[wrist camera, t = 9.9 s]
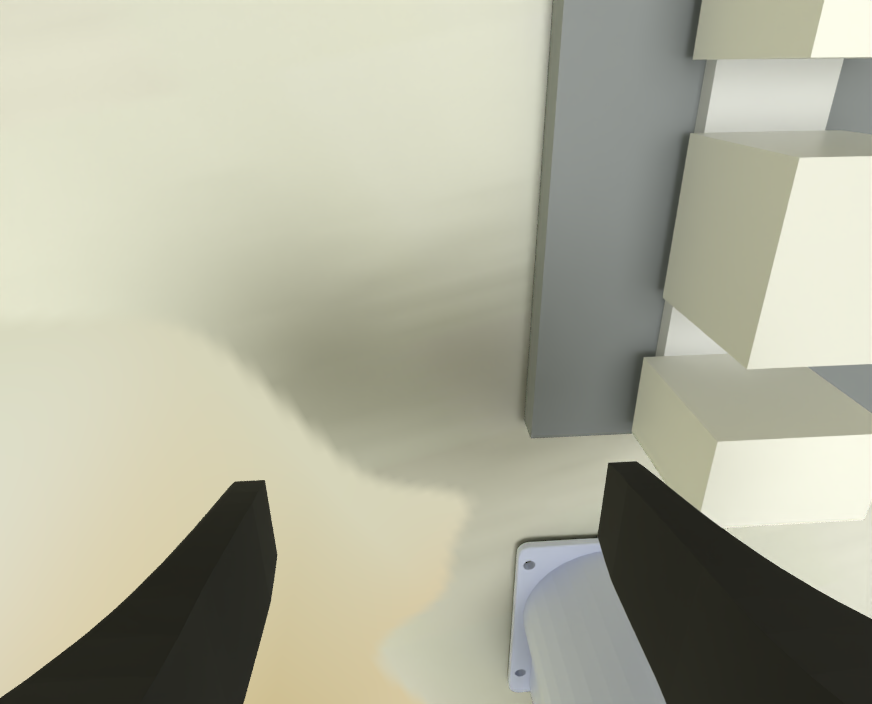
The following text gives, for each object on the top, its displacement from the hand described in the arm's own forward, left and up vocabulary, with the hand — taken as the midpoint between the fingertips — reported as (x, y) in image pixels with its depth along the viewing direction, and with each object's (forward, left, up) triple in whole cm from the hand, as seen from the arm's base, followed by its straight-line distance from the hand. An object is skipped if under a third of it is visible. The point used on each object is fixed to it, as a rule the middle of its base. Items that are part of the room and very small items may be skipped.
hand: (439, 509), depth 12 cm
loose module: (+4, -10, -8) cm, 13 cm away
